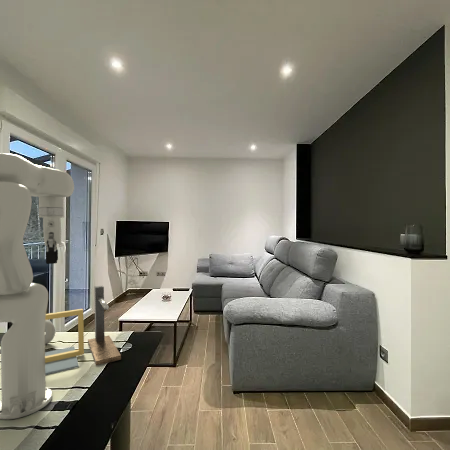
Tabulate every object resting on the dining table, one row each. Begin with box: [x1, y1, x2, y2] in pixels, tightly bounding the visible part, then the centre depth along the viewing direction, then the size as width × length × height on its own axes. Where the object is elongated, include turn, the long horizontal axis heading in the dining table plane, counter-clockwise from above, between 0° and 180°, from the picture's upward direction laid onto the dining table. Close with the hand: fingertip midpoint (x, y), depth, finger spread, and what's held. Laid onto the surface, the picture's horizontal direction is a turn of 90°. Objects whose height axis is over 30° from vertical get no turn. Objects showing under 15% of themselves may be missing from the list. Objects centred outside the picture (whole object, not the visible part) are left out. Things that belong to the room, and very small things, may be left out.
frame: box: [45, 308, 85, 363], centre depth 102 cm, size 2×14×16 cm, turn 122°
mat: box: [45, 346, 79, 376], centre depth 102 cm, size 18×12×1 cm, turn 31°
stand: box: [87, 285, 122, 366], centre depth 109 cm, size 22×8×22 cm, turn 31°
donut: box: [45, 319, 56, 345], centre depth 117 cm, size 10×3×10 cm, turn 76°
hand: (52, 262), depth 103 cm, fingers open, 9 cm apart
